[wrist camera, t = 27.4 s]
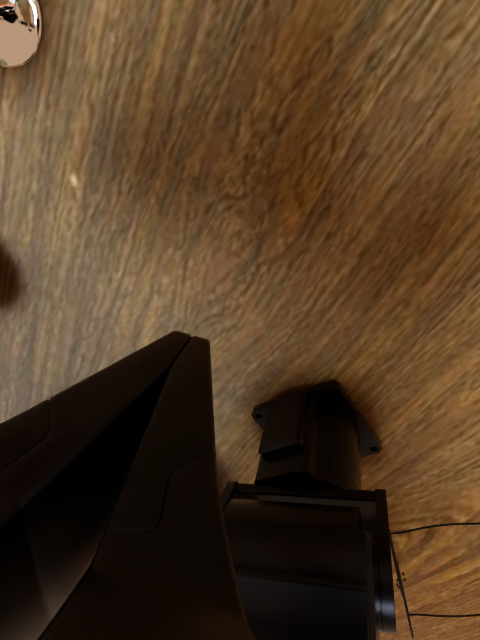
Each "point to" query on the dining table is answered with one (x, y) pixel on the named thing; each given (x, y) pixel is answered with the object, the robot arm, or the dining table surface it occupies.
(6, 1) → the wineglass
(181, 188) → the dining table surface
